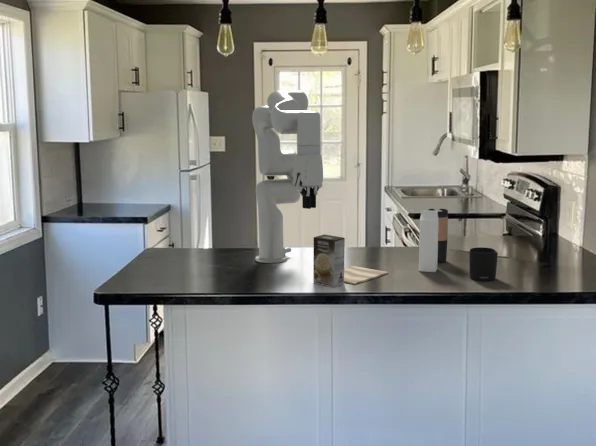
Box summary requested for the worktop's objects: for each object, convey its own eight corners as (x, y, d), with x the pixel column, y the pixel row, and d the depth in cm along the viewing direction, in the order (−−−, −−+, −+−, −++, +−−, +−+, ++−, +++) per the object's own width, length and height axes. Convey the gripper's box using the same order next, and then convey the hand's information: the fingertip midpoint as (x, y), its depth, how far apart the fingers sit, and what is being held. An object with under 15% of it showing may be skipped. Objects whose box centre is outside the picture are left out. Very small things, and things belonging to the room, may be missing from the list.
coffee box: (312, 283, 233) (312, 236, 230) (323, 279, 238) (323, 234, 235) (334, 287, 227) (334, 239, 225) (345, 283, 232) (345, 237, 229)
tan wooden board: (352, 267, 256) (352, 265, 255) (388, 273, 245) (388, 272, 245) (318, 277, 241) (318, 275, 241) (354, 284, 230) (354, 283, 230)
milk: (421, 267, 254) (422, 209, 251) (437, 268, 252) (438, 209, 249) (418, 271, 248) (419, 211, 245) (435, 272, 246) (436, 211, 243)
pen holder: (463, 278, 237) (464, 250, 236) (477, 273, 244) (478, 246, 242) (488, 283, 231) (489, 254, 229) (501, 278, 237) (502, 249, 236)
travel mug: (438, 264, 259) (440, 211, 256) (422, 261, 265) (423, 209, 262) (450, 261, 264) (452, 209, 261) (434, 258, 270) (436, 207, 267)
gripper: (315, 149, 226) (315, 204, 229) (283, 151, 214) (284, 209, 217) (333, 149, 221) (333, 206, 224) (301, 152, 209) (302, 211, 212)
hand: (309, 207), depth 221 cm, fingers closed
